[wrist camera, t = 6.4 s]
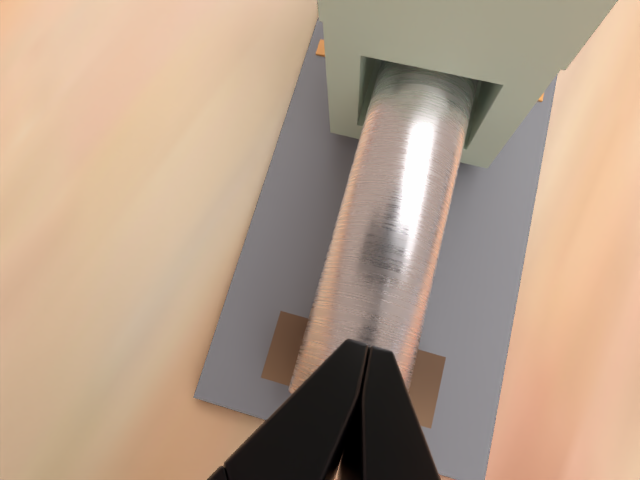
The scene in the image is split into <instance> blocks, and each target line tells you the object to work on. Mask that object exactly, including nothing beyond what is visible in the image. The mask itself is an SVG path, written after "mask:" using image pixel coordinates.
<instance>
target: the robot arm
mask: <svg viewBox="0 0 640 480" xmlns="http://www.w3.org/2000/svg"><path fill="white" fill-rule="evenodd" d="M340 460H341V461H340ZM339 463H340V466H339ZM338 466H339V472H338V479H337V480H441V479H440V476H439V473H438V471H437V468H436V465H435V463H434V460H433V457H432V455H431V452H430V449H429V447H428V444H427V441H426V439H425V436H424V433H423V430H422V428H421V425H420V422H419V420H418V417H417V414H416V412H415V409H414V406H413V404H412V401H411V398H410V395H409V393H408V390H407V387H406V385H405V382H404V379H403V377H402V374H401V371H400V369H399V366H398V363H397V361H396V358H395V355H394V353H393V352H392V351H391V350H388V349H384V348H381V347H377V346H371V347H370V348H369V346H368V344H366V343H363V342H360V341H356V340H353V339H346V340H345V341H344V342H343V343H342V344H341V345H340V346H339V347H338V348H337V349H336V350H335V351H334V352H333V353H332V354H331V355H330V356H329V357H328V358H327V359H326V360H325V361H324V362H323V363H322V364H321V365H320V366H319V367H318V368H317V369H316V370H315V371H314V372H313V373H312V374H311V375H310V376H309V377H308V378H307V379H306V380H305V381H304V382H303V383H302V384H301V385H300V386H299V387H298V388H297V389H296V390H295V391H294V392H293V393H292V394H291V395H290V396H289V397H288V398H287V399H286V400H285V401H284V402H283V403H282V404H281V405H280V406H279V407H278V408H277V409H276V410H275V411H274V412H273V414H272V415H271V416H270V417H269V418H268V419H267V420H266V421H265V422H264V423H263V424H262V425H261V426H260V427H259V428H258V429H257V430H256V431H255V432H254V433H253V434H252V435H251V436H250V437H249V438H248V439H247V440H246V441H245V442H244V443H243V444H242V445H241V446H240V447H239V448H238V449H237V450H236V451H235V452H234V453H233V454H232V455H231V456H230V457H229V458H228V459H227V460H226V461H225V462H224V466H220V467H219V468H218V469H217V470H216V471H215V472H214V473H213V474H212V475H211V476H210V477H209V478H208V479H207V480H334V478H335V475H336V472H337V470H338Z"/></svg>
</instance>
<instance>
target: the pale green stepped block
mask: <svg viewBox="0 0 640 480" xmlns="http://www.w3.org/2000/svg"><path fill="white" fill-rule="evenodd" d="M617 1H618V0H317V4H318V16H319V21H321V22H323V33H324V47H325V62H326V76H327V90H328V105H329V119H330V133H335V134H339V135H343V136H348V137H352V138H356V139H360V135H361V131H362V128H363V124H364V121H365V117H366V114H367V110H368V107H369V103H370V100H371V96H372V93H373V89H374V86H375V82H376V78H377V75H378V71H379V68H380V64H381V61H382V60H385V61H390V62H395V63H399V64H404V65H409V66H414V67H419V68H424V69H428V70H433V71H438V72H443V73H448V74H453V75H457V76H462V77H467V78H472V79H477V80H478V84H477V88H476V93H475V97H474V102H473V106H472V111H471V115H470V120H469V124H468V128H467V133H466V137H465V142H464V146H463V151H462V155H461V160H460V162H461V163H465V164H470V165H474V166H479V167H483V168H488V167H489V166H490V164H491V163H492V162H493V160H494V159H495V158H496V156H497V155H498V154H499V152H500V151H501V150H502V148H503V147H504V145H505V144H506V143H507V141H508V140H509V139H510V137H511V136H512V135H513V133H514V132H515V131H516V129H517V128H518V127H519V125H520V124H521V122H522V121H523V120H524V118H525V117H526V116H527V114H528V113H529V112H530V110H531V109H532V108H533V106H534V105H535V104H536V102H537V101H538V99H539V98H540V97H541V95H542V94H543V93H544V91H545V90H546V89H547V87H548V86H549V85H550V83H551V82H552V81H553V79H554V78H555V76H556V75H557V74H558V72H559V71H560V70H566V68H567V67H568V66H569V64H570V63H571V62H572V60H573V59H574V58H575V57H576V55H577V54H578V53H579V51H580V50H581V49H582V47H583V46H584V45H585V43H586V42H587V41H588V39H589V38H590V37H591V35H592V34H593V33H594V31H595V30H596V29H597V27H598V26H599V25H600V23H601V22H602V21H603V20H604V18H605V17H606V16H607V14H608V13H609V12H610V10H611V9H612V8H613V6H614V5H615V4H616V2H617Z"/></svg>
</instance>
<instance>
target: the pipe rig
mask: <svg viewBox="0 0 640 480" xmlns="http://www.w3.org/2000/svg"><path fill="white" fill-rule="evenodd" d="M556 80H557V75H556V76H555V78H554V79H553V81H552V82H551V83H550V85H549V86H548V87H547V89H546V90H545V91H544V93H543V94H542V95H541V97H540V98H539V99H538V101H537V102H536V104H535V105H534V106H533V108H532V109H531V110H530V112H529V113H528V114H527V116H526V117H525V118H524V120H523V121H522V122H521V124H520V125H519V127H518V128H517V129H516V131H515V132H514V133H513V135H512V136H511V137H510V139H509V140H508V141H507V143H506V144H505V145H504V147H503V148H502V150H501V151H500V152H499V154H498V155H497V156H496V158H495V159H494V160H493V162H492V163H491V164H490V166H489V167H488V168H483V167H479V166H474V165H470V164H465V163H461V162H460V160H461V155H462V151H463V146H464V142H465V137H466V133H467V128H468V124H469V120H470V115H471V111H472V106H473V102H474V97H475V93H476V88H477V84H478V80H477V79H472V78H467V77H462V76H457V75H453V74H448V73H443V72H438V71H433V70H428V69H424V68H419V67H414V66H409V65H404V64H399V63H395V62H390V61H385V60H382V61H381V64H380V68H379V71H378V75H377V78H376V82H375V86H374V89H373V93H372V96H371V100H370V103H369V107H368V110H367V114H366V117H365V121H364V124H363V128H362V131H361V135H360V139H356V138H352V137H348V136H343V135H339V134H335V133H330V119H329V105H328V90H327V76H326V62H325V47H324V33H323V22H321V21H319V17H318V20H317V23H316V26H315V29H314V32H313V35H312V38H311V41H310V44H309V47H308V50H307V53H306V56H305V59H304V62H303V65H302V68H301V71H300V74H299V78H298V81H297V84H296V87H295V90H294V93H293V96H292V99H291V102H290V105H289V108H288V111H287V114H286V117H285V120H284V123H283V126H282V129H281V132H280V135H279V138H278V141H277V144H276V148H275V151H274V154H273V157H272V160H271V163H270V166H269V169H268V172H267V175H266V178H265V181H264V184H263V187H262V190H261V193H260V196H259V199H258V202H257V205H256V208H255V211H254V215H253V218H252V221H251V224H250V227H249V230H248V233H247V236H246V239H245V242H244V245H243V248H242V251H241V254H240V257H239V260H238V263H237V266H236V269H235V272H234V275H233V278H232V282H231V285H230V288H229V291H228V294H227V297H226V300H225V303H224V306H223V309H222V312H221V315H220V318H219V321H218V324H217V327H216V330H215V333H214V336H213V339H212V342H211V345H210V348H209V352H208V355H207V358H206V361H205V364H204V367H203V370H202V373H201V376H200V379H199V382H198V385H197V388H196V391H195V394H194V397H193V398H196V399H199V400H203V401H206V402H209V403H212V404H215V405H219V406H222V407H225V408H228V409H232V410H235V411H238V412H241V413H244V414H248V415H251V416H254V417H257V418H260V419H264V420H267V419H268V418H269V417H270V416H271V415H272V414H273V412H274V411H275V410H276V409H277V408H278V407H279V406H280V405H281V404H282V403H283V402H284V401H285V400H286V399H287V398H288V397H289V396H290V395H291V394H292V393H293V392H294V391H295V390H296V389H297V388H298V387H299V386H300V385H301V384H302V383H303V382H304V381H305V380H306V379H307V378H308V377H309V376H310V375H311V374H312V373H313V372H314V371H315V370H316V369H317V368H318V367H319V366H320V365H321V364H322V363H323V362H324V361H325V360H326V359H327V358H328V357H329V356H330V355H331V354H332V353H333V352H334V351H335V350H336V349H337V348H338V347H339V346H340V345H341V344H342V343H343V342H344V341H345V340H346V339H353V340H356V341H360V342H363V343H366V344H368V346H369V348H370V347H371V346H377V347H381V348H384V349H388V350H391V351H392V352H393V353H394V355H395V358H396V361H397V363H398V366H399V369H400V371H401V374H402V377H403V379H404V382H405V385H406V387H407V390H408V393H409V395H410V398H411V401H412V404H413V406H414V409H415V412H416V414H417V417H418V420H419V422H420V425H421V428H422V430H423V433H424V436H425V439H426V441H427V444H428V447H429V449H430V452H431V455H432V457H433V460H434V463H435V465H436V468H437V471H438V473H439V474H440V475H443V476H446V477H450V478H453V479H456V480H485V475H486V470H487V464H488V459H489V453H490V448H491V442H492V436H493V431H494V425H495V420H496V414H497V408H498V403H499V397H500V392H501V386H502V381H503V375H504V369H505V364H506V358H507V353H508V347H509V342H510V336H511V330H512V325H513V319H514V314H515V308H516V303H517V297H518V291H519V286H520V280H521V275H522V269H523V264H524V258H525V252H526V247H527V241H528V236H529V230H530V225H531V219H532V213H533V208H534V202H535V197H536V191H537V185H538V180H539V174H540V169H541V163H542V158H543V152H544V146H545V141H546V135H547V130H548V124H549V119H550V113H551V107H552V102H553V96H554V91H555V85H556Z"/></svg>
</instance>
